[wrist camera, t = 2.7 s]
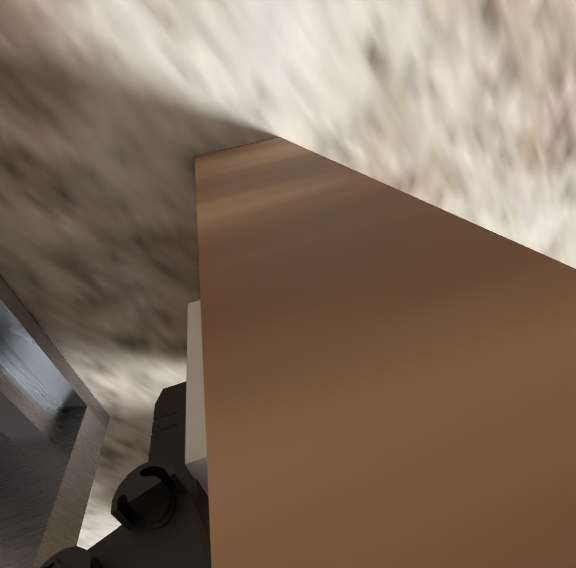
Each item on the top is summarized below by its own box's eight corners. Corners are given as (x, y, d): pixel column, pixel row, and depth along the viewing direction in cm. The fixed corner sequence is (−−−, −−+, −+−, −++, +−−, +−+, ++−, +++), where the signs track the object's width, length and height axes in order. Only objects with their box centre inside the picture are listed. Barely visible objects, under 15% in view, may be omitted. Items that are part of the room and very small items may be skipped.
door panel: (316, 349, 19) (505, 733, 8) (260, 367, 19) (371, 803, 7) (279, 137, 13) (1096, 501, 1) (194, 156, 13) (228, 1005, 1)
